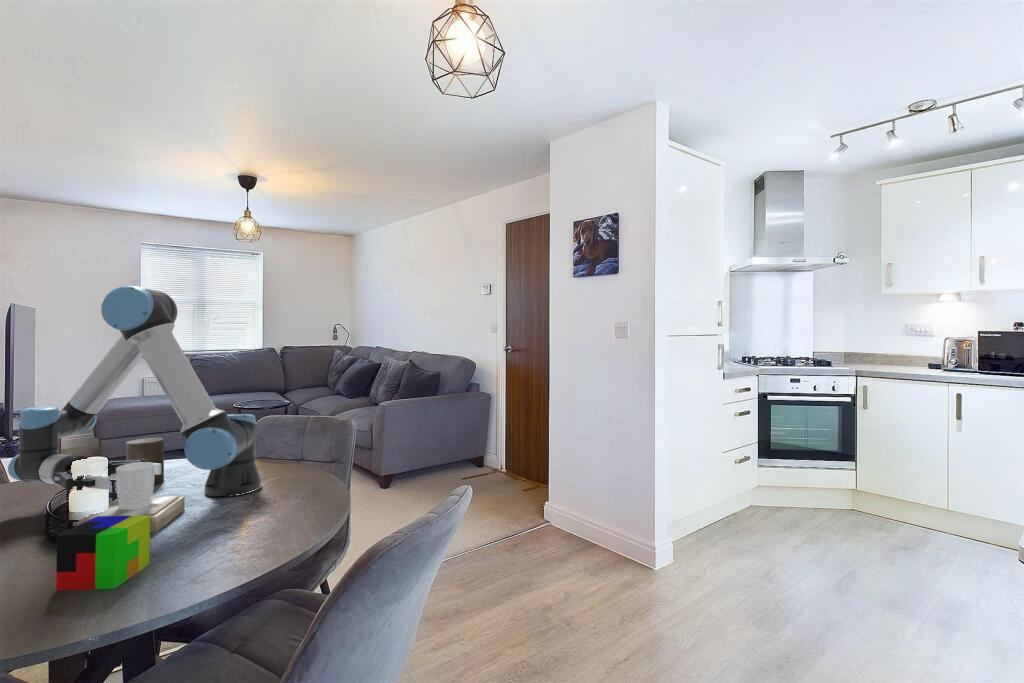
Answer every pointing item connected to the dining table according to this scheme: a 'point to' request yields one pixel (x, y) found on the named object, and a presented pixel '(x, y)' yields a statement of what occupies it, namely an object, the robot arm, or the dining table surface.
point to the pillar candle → (147, 453)
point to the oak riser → (147, 511)
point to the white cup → (135, 485)
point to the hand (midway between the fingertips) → (135, 475)
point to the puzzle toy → (102, 552)
